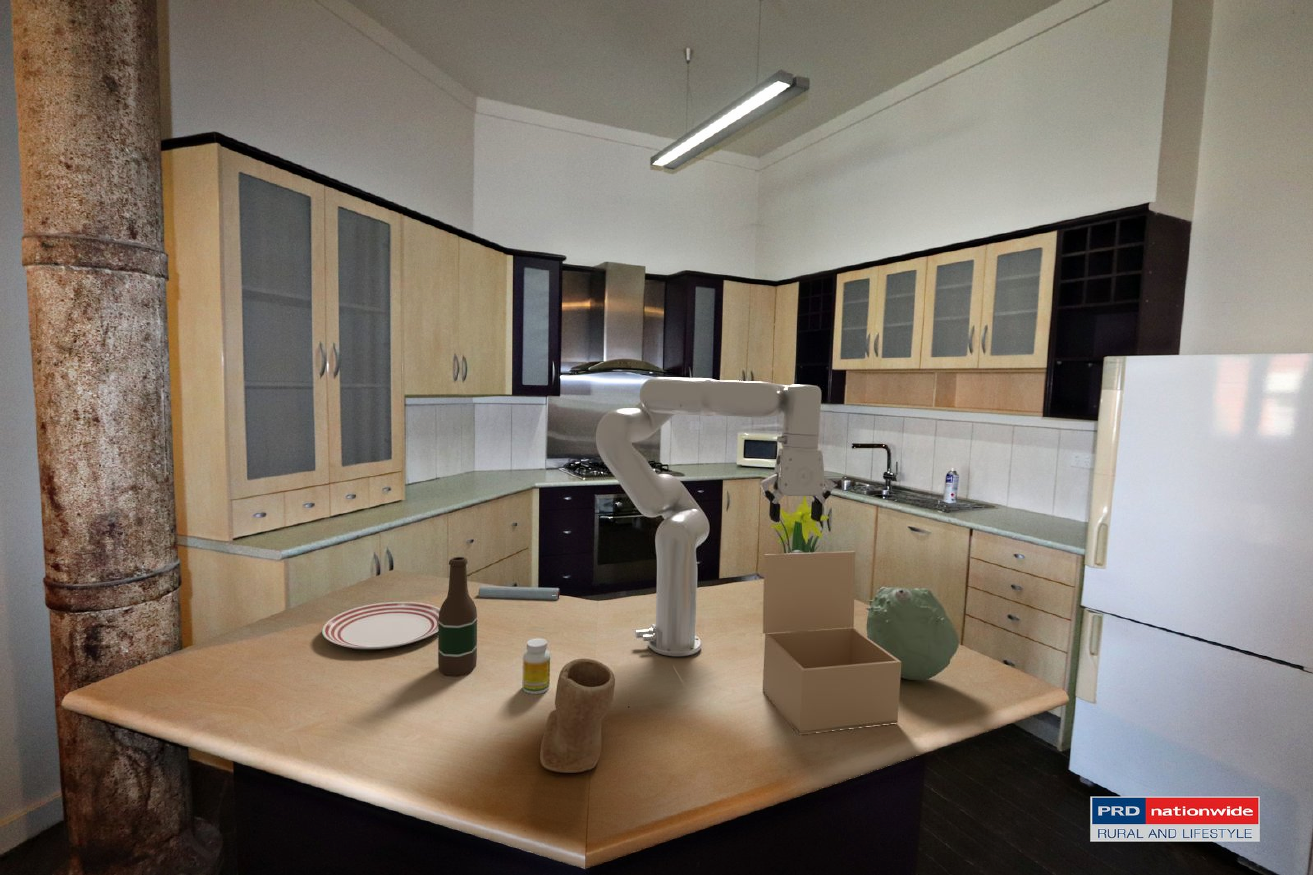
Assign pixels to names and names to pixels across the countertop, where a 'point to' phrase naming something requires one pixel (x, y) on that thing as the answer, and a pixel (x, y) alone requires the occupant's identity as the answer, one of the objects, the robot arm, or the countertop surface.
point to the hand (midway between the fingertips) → (795, 520)
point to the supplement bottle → (536, 667)
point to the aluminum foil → (519, 592)
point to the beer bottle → (457, 625)
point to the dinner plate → (382, 625)
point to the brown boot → (577, 717)
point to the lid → (808, 591)
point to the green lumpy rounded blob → (912, 630)
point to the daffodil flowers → (799, 529)
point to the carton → (831, 680)
